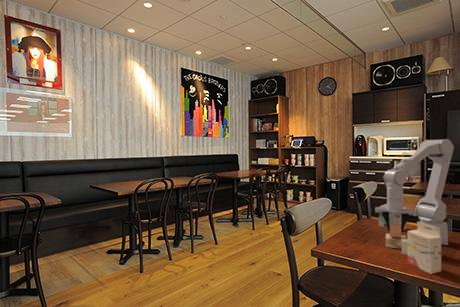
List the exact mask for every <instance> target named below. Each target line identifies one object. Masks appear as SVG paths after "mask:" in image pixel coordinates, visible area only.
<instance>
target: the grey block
mask: <svg viewBox="0 0 460 307" xmlns="http://www.w3.org/2000/svg"><path fill="white" fill-rule="evenodd" d="M405 238H406V237H405ZM405 238H402V249H401V254H402V255H406V256H408V238H406V239H405Z"/></svg>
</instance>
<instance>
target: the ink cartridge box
mask: <svg viewBox="0 0 460 307" xmlns="http://www.w3.org/2000/svg"><path fill="white" fill-rule="evenodd" d="M416 225H417V229H412V230H407V239H408V255H407V264H409V265H411V266H413V267H415V268H418V269H419V270H421V271H423V272H426V273H428V274H436V273H440V272H442V244H441V236H440V228H439V227H435V226H432V225H429V224H425V223H421V222H420V221H416ZM424 227H429V228H431V229H432V230H428V229H425V228H424Z"/></svg>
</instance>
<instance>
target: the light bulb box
mask: <svg viewBox="0 0 460 307" xmlns="http://www.w3.org/2000/svg"><path fill="white" fill-rule="evenodd" d="M378 207H387V203H385V204H381V205H380V206H378ZM403 209H407V207H406V206H403ZM390 222H396V223H401V214H392V213H389V224H390ZM407 223H408V221H407V222H406V224H405V226H404V230H403V231H405V230H407V229H408V226H407V225H408V224H407ZM378 226H380V227H381V228H385V229H388V228H387V224H386V222H385V219H384V217H383V215H382V213H381V212H378Z"/></svg>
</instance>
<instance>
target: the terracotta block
mask: <svg viewBox="0 0 460 307" xmlns="http://www.w3.org/2000/svg"><path fill="white" fill-rule="evenodd" d="M389 234H390V236H392V237H400V238H401V235H402V232H401V223H396V222H390V231H389Z"/></svg>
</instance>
